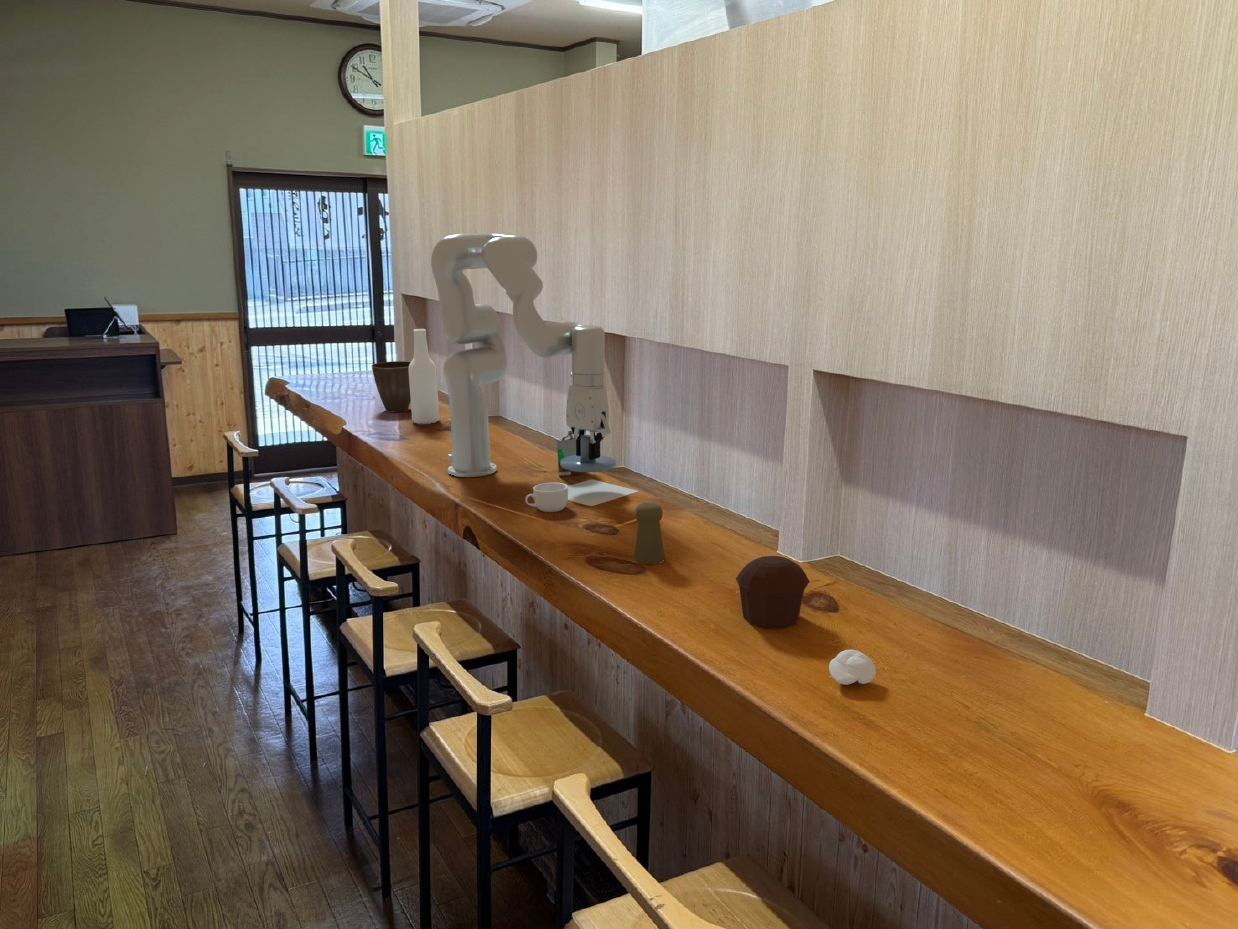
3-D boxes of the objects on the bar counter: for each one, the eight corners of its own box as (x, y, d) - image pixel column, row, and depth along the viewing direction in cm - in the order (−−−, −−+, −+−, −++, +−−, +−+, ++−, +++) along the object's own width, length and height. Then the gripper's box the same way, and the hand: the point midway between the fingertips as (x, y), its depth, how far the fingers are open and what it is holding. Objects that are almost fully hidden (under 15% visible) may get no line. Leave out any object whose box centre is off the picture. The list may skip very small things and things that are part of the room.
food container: (581, 480, 235) (580, 441, 233) (557, 479, 236) (556, 440, 234) (592, 468, 247) (591, 430, 244) (569, 467, 248) (568, 430, 245)
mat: (543, 494, 224) (543, 493, 224) (591, 480, 235) (591, 479, 235) (591, 507, 213) (591, 506, 213) (639, 492, 224) (639, 491, 224)
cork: (668, 563, 178) (667, 507, 175) (636, 565, 177) (635, 509, 174) (661, 552, 184) (661, 498, 181) (630, 555, 183) (630, 500, 180)
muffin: (751, 636, 146) (752, 576, 144) (724, 609, 157) (725, 552, 154) (820, 626, 150) (823, 567, 147) (789, 600, 160) (791, 544, 157)
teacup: (560, 503, 217) (559, 480, 215) (574, 512, 210) (573, 488, 209) (519, 509, 213) (518, 486, 211) (532, 519, 206) (531, 495, 205)
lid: (549, 464, 222) (548, 436, 220) (588, 454, 231) (588, 427, 230) (587, 475, 214) (587, 446, 212) (626, 464, 223) (627, 436, 221)
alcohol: (411, 420, 310) (404, 328, 302) (438, 418, 312) (432, 327, 305) (413, 425, 302) (406, 331, 294) (441, 423, 304) (435, 330, 297)
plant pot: (428, 407, 330) (425, 362, 326) (402, 415, 317) (398, 368, 313) (393, 405, 336) (389, 360, 332) (366, 412, 323) (362, 366, 319)
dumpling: (856, 670, 135) (858, 644, 134) (883, 685, 131) (884, 658, 130) (819, 681, 132) (820, 655, 131) (844, 697, 128) (845, 670, 127)
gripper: (551, 377, 220) (552, 453, 225) (602, 387, 209) (601, 466, 214) (575, 373, 225) (575, 447, 230) (625, 382, 214) (624, 460, 219)
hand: (588, 456), depth 222 cm, fingers closed on lid, 3 cm apart
